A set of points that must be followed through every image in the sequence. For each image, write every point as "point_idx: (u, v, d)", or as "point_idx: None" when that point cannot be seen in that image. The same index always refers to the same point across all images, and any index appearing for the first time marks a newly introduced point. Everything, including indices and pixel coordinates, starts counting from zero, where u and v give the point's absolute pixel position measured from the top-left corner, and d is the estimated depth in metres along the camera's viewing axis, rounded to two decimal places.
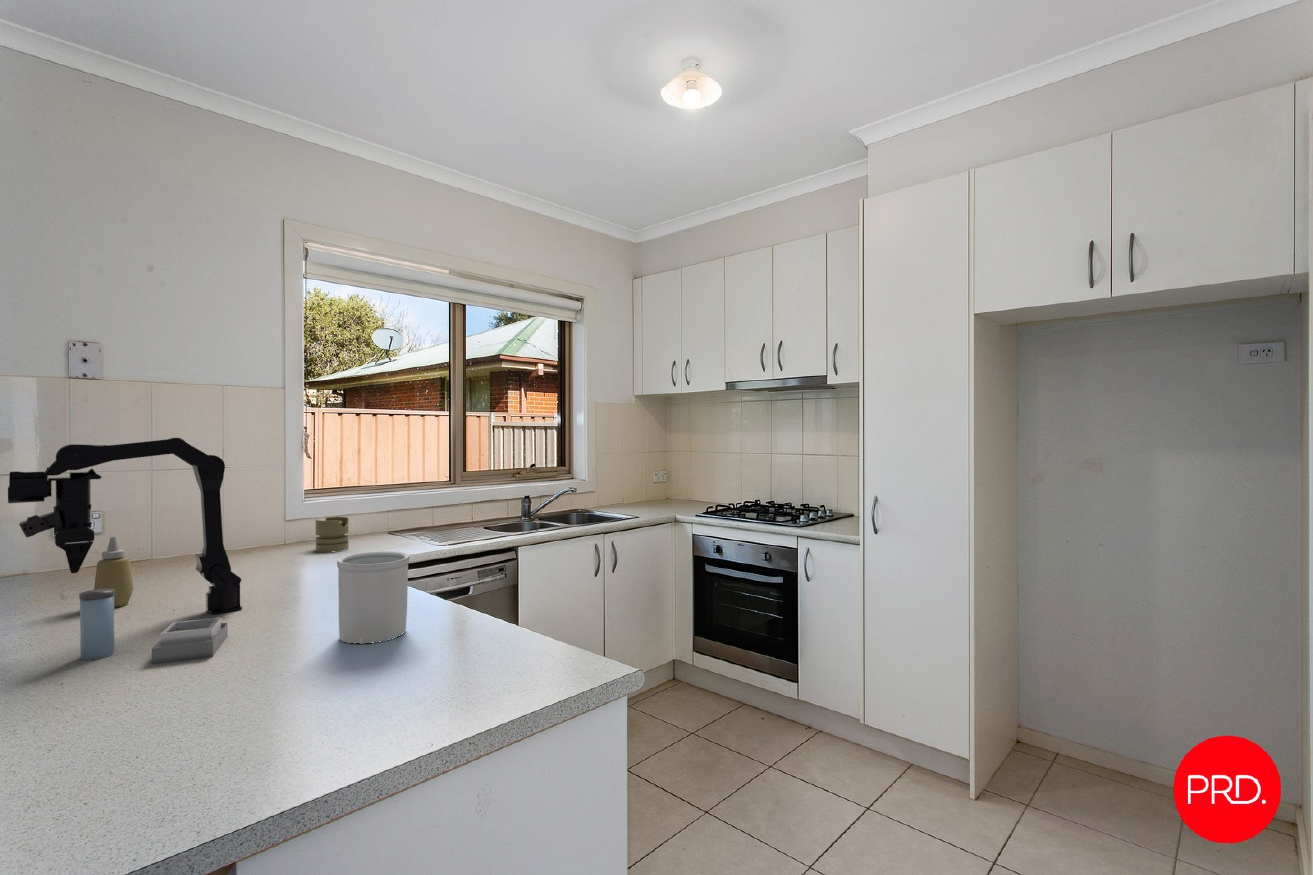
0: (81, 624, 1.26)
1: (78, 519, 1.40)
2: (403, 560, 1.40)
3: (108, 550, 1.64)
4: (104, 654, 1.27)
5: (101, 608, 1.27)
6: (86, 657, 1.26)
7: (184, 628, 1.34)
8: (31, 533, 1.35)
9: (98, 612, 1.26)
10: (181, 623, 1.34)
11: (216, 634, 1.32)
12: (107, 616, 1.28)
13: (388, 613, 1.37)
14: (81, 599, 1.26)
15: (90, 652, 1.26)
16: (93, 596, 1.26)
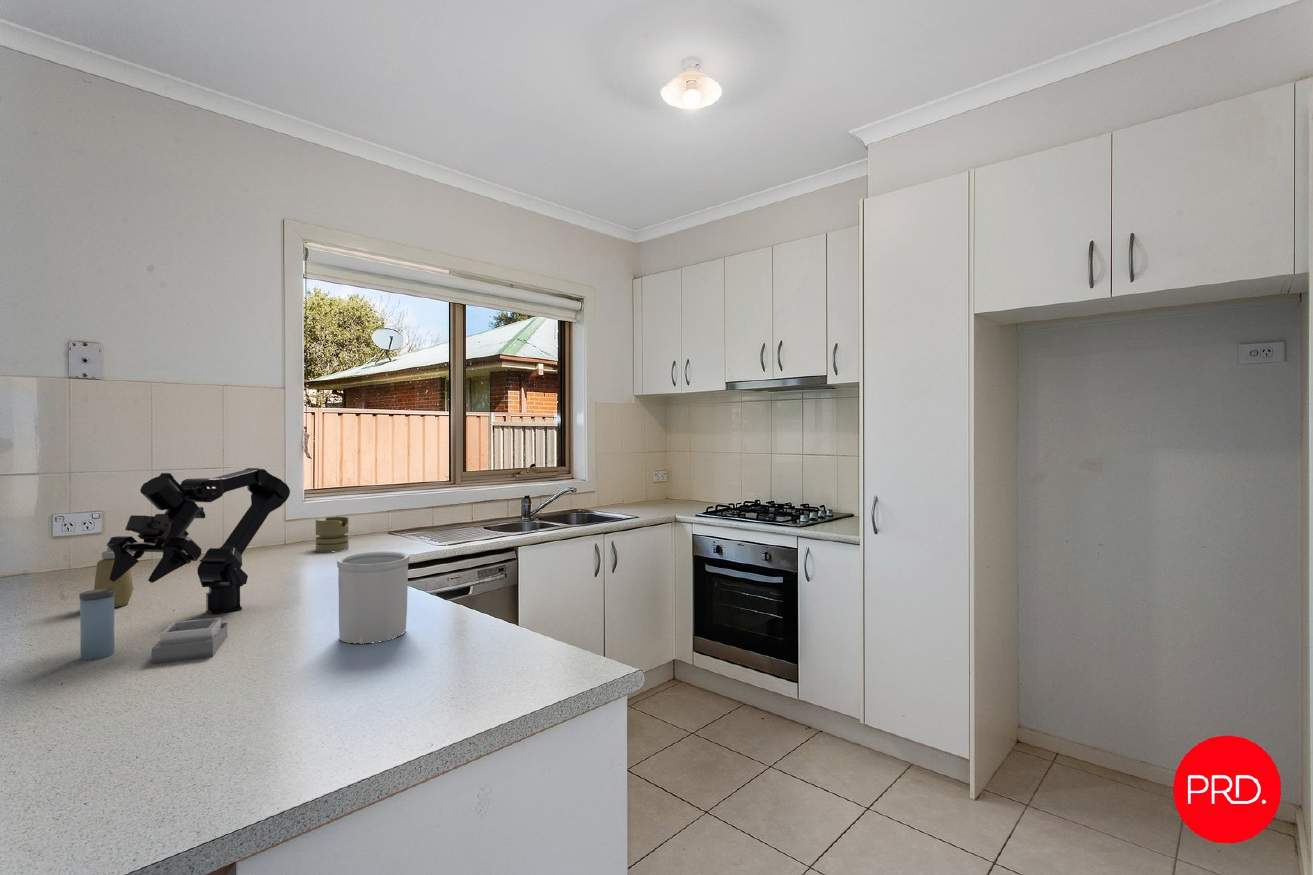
0: (81, 624, 1.26)
1: None
2: (403, 560, 1.40)
3: (108, 550, 1.64)
4: (104, 654, 1.27)
5: (101, 608, 1.27)
6: (86, 657, 1.26)
7: (184, 628, 1.34)
8: (148, 528, 1.37)
9: (98, 612, 1.26)
10: (181, 623, 1.34)
11: (216, 634, 1.32)
12: (107, 616, 1.28)
13: (388, 613, 1.37)
14: (82, 599, 1.26)
15: (90, 651, 1.26)
16: (93, 596, 1.26)
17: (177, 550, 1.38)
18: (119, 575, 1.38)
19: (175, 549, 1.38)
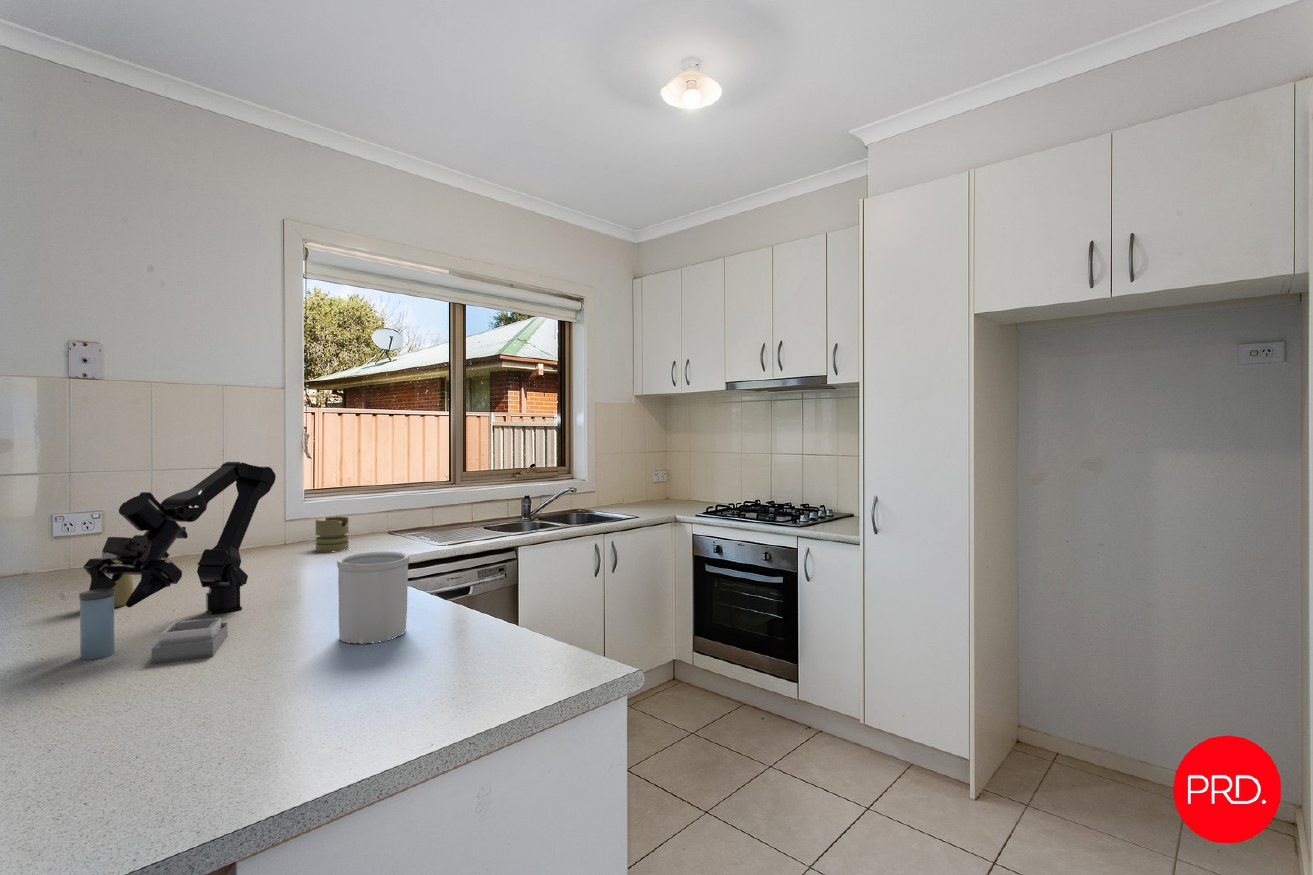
0: (81, 624, 1.26)
1: None
2: (403, 560, 1.40)
3: None
4: (104, 654, 1.27)
5: (101, 608, 1.27)
6: (86, 657, 1.26)
7: (184, 628, 1.34)
8: (125, 550, 1.32)
9: (98, 612, 1.26)
10: (181, 623, 1.34)
11: (216, 634, 1.32)
12: (107, 616, 1.28)
13: (388, 613, 1.37)
14: (82, 599, 1.26)
15: (90, 651, 1.26)
16: (93, 596, 1.26)
17: (156, 573, 1.33)
18: None
19: (154, 572, 1.32)
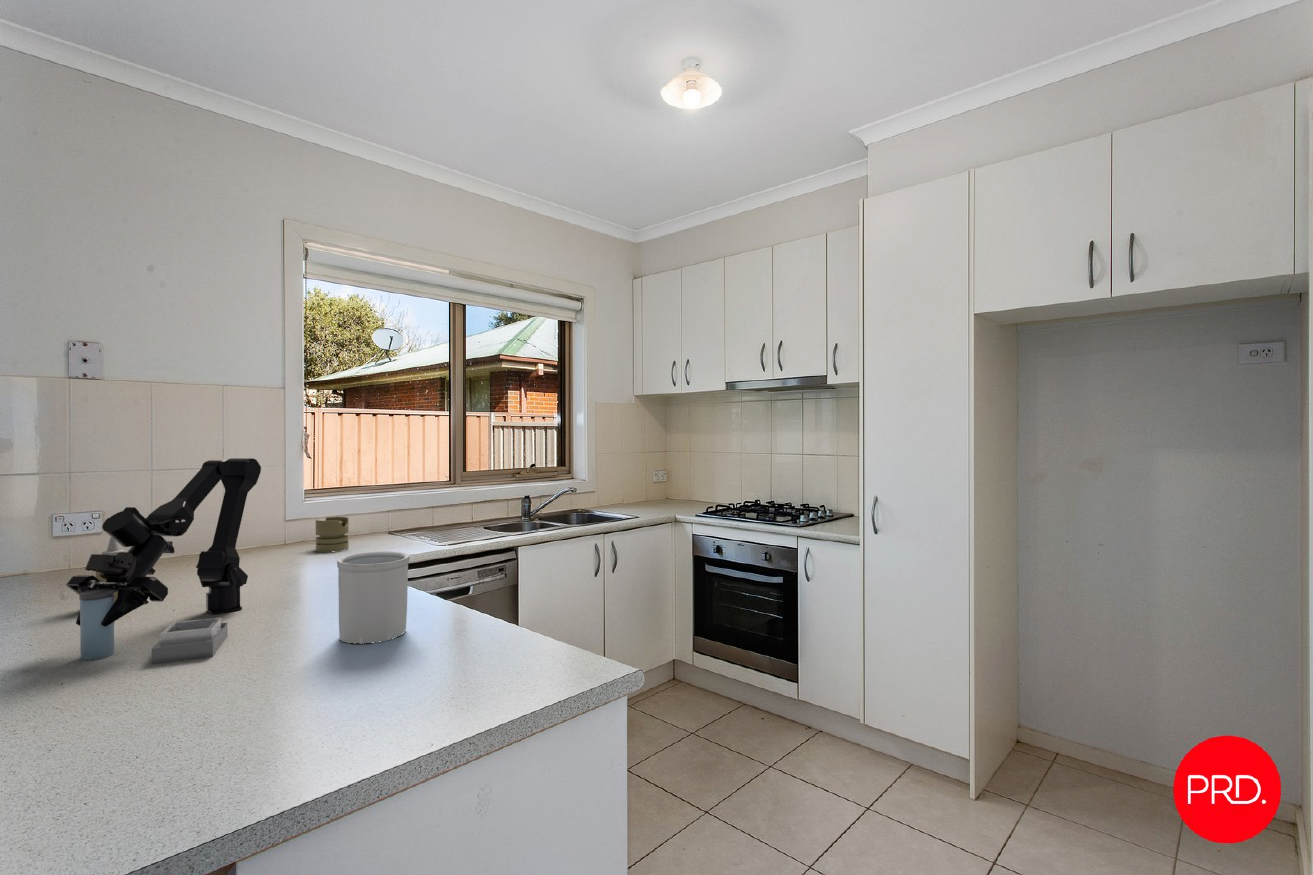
0: (81, 624, 1.26)
1: None
2: (403, 560, 1.40)
3: (108, 550, 1.64)
4: (104, 654, 1.27)
5: (101, 608, 1.27)
6: (86, 657, 1.26)
7: (184, 628, 1.34)
8: (109, 568, 1.28)
9: (98, 612, 1.26)
10: (181, 623, 1.34)
11: (216, 634, 1.32)
12: None
13: (388, 613, 1.37)
14: (82, 599, 1.26)
15: (90, 651, 1.26)
16: (93, 596, 1.26)
17: (133, 591, 1.29)
18: None
19: (130, 590, 1.29)
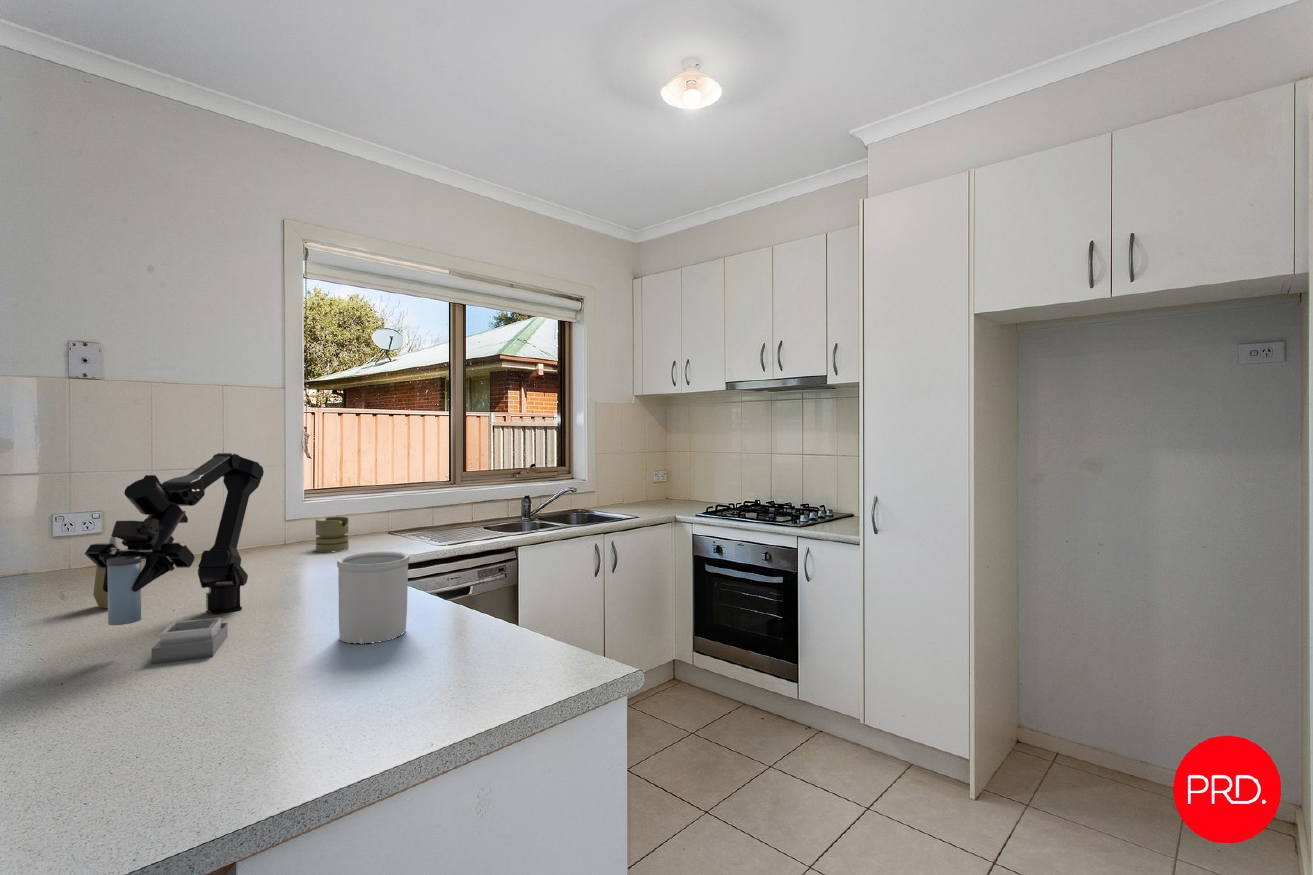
0: (110, 590, 1.26)
1: None
2: (403, 560, 1.40)
3: None
4: (134, 619, 1.28)
5: (131, 573, 1.27)
6: (116, 622, 1.26)
7: (184, 628, 1.34)
8: (138, 534, 1.29)
9: (128, 577, 1.27)
10: (181, 623, 1.34)
11: (216, 634, 1.32)
12: None
13: (388, 613, 1.37)
14: (111, 565, 1.26)
15: (120, 617, 1.26)
16: (124, 562, 1.26)
17: (162, 556, 1.31)
18: None
19: (160, 555, 1.30)
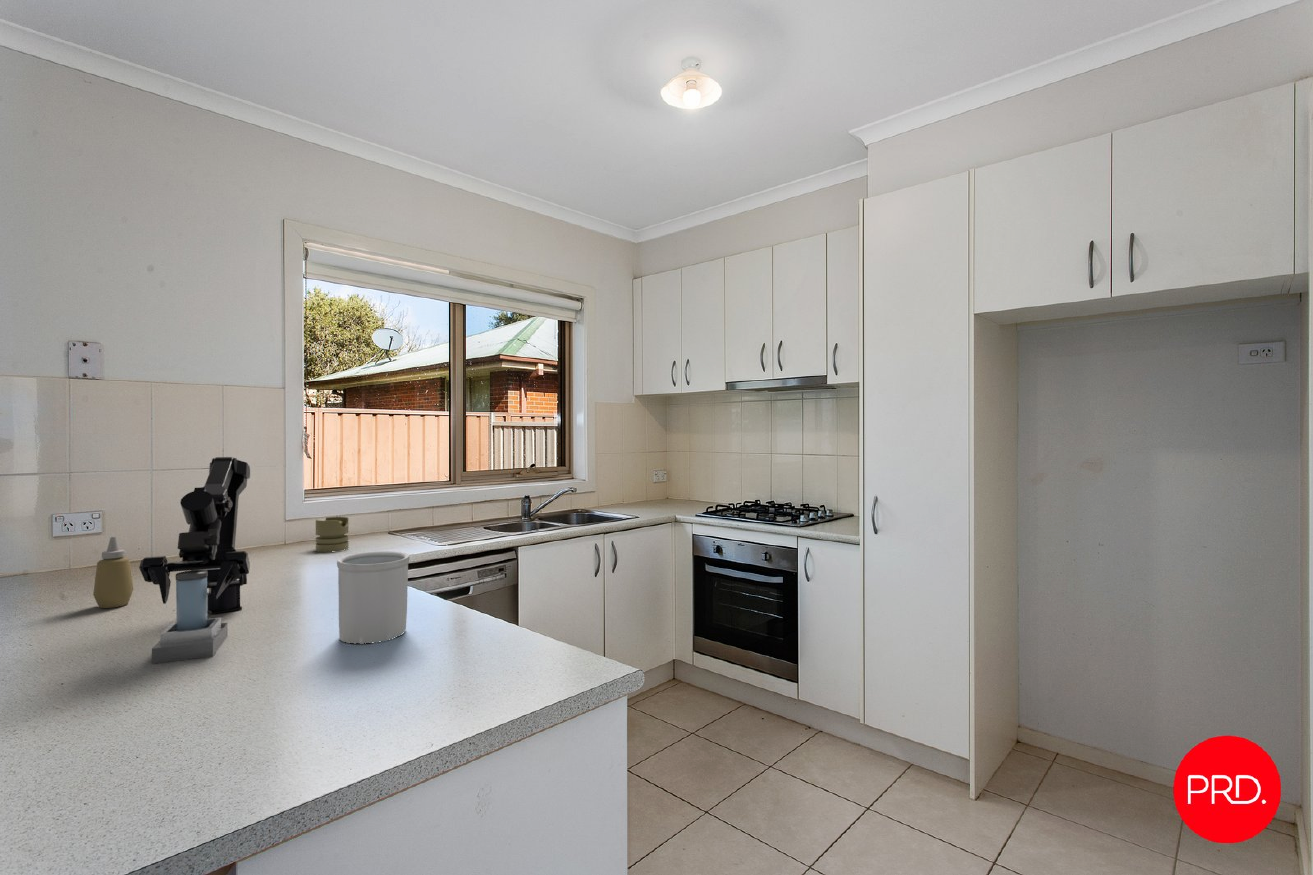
0: (183, 604, 1.29)
1: None
2: (403, 560, 1.40)
3: (108, 550, 1.64)
4: None
5: (203, 587, 1.32)
6: None
7: None
8: (205, 544, 1.33)
9: (201, 591, 1.31)
10: None
11: (216, 634, 1.32)
12: (206, 594, 1.33)
13: (388, 613, 1.37)
14: (184, 580, 1.29)
15: None
16: (198, 576, 1.30)
17: (237, 564, 1.37)
18: (167, 597, 1.30)
19: (236, 563, 1.36)
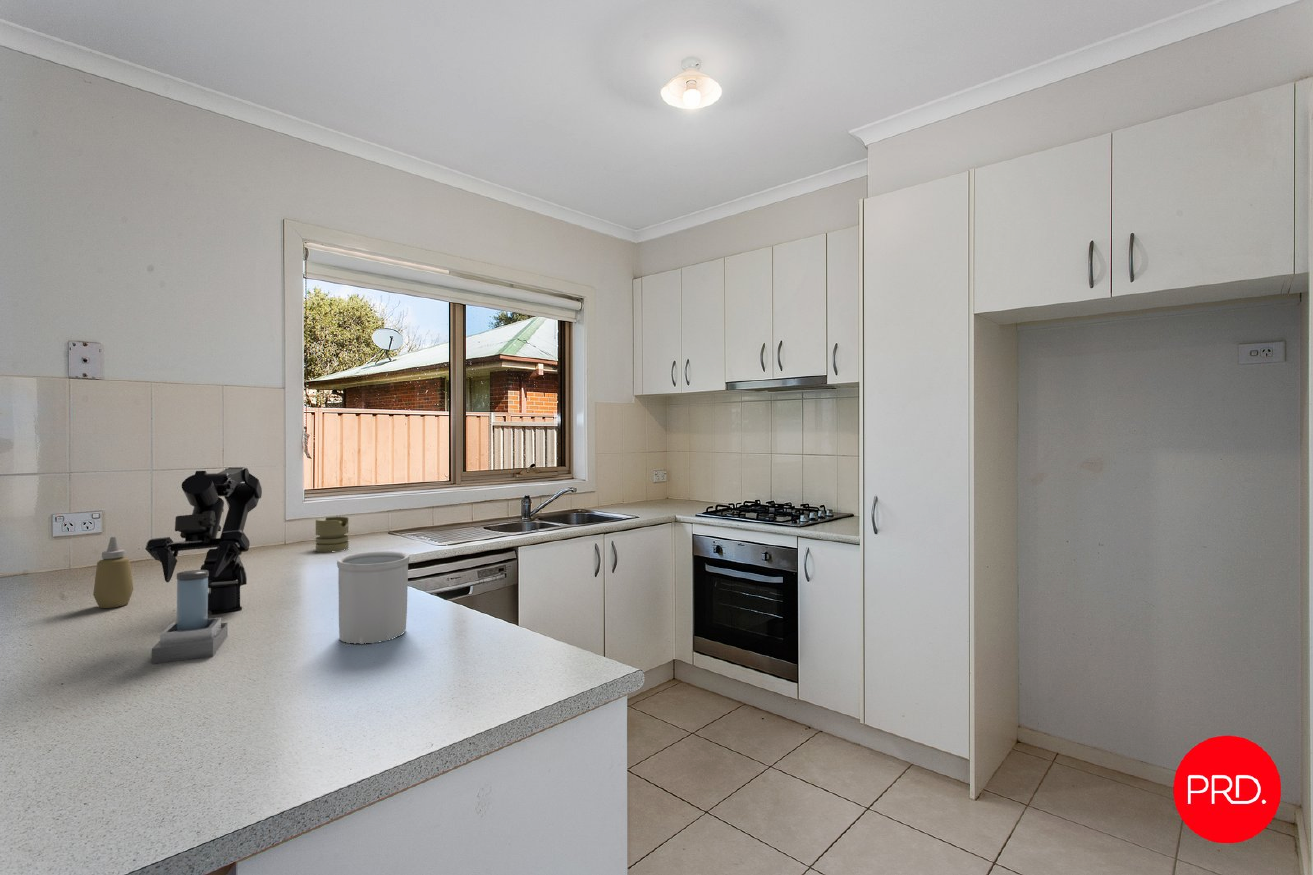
0: (184, 604, 1.29)
1: (216, 534, 1.47)
2: (403, 560, 1.40)
3: (108, 550, 1.64)
4: None
5: (204, 587, 1.32)
6: None
7: None
8: (200, 526, 1.40)
9: (202, 591, 1.31)
10: None
11: (216, 634, 1.32)
12: (206, 594, 1.33)
13: (388, 613, 1.37)
14: (186, 580, 1.29)
15: None
16: (199, 576, 1.31)
17: (234, 543, 1.43)
18: (171, 575, 1.39)
19: (232, 542, 1.43)
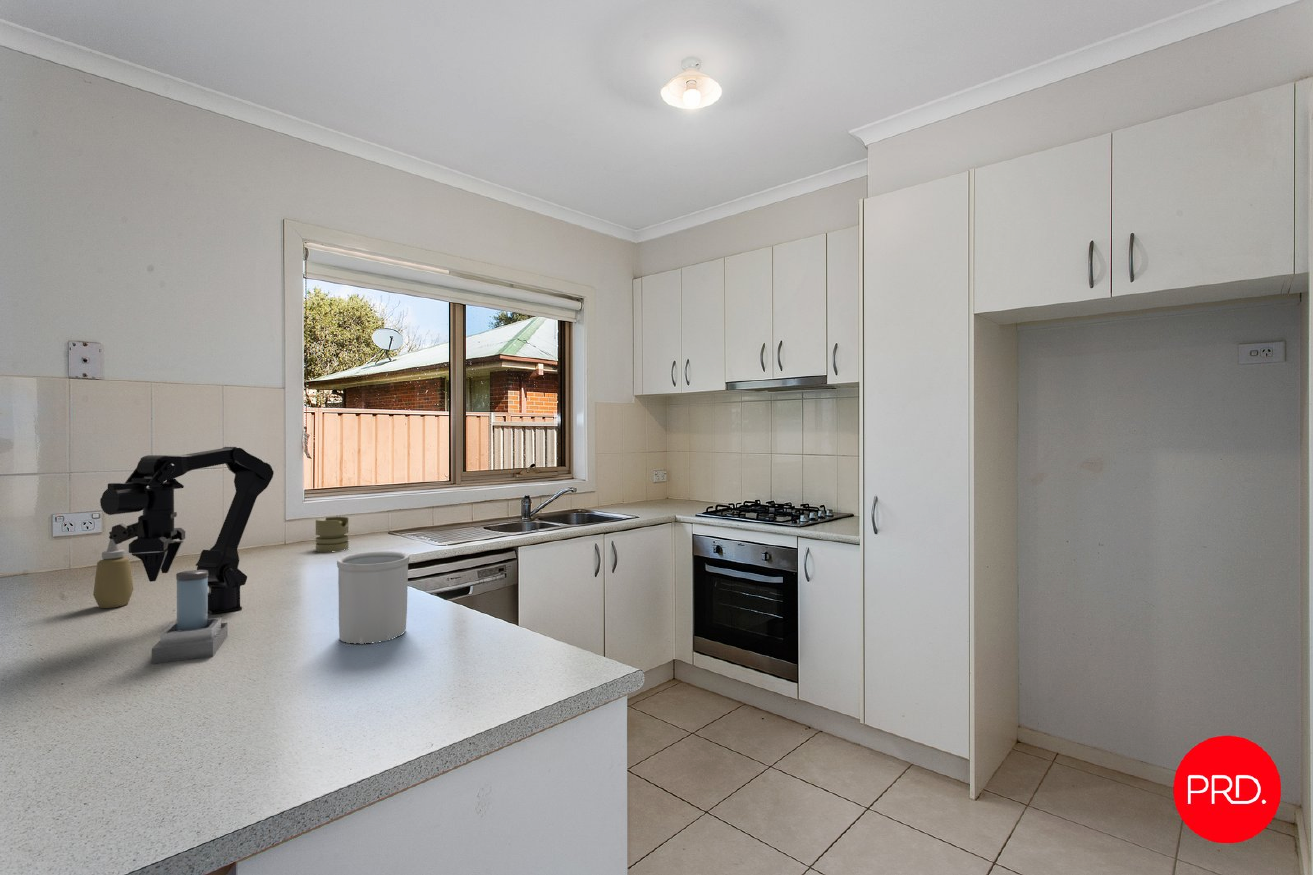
0: (184, 604, 1.29)
1: (159, 528, 1.43)
2: (403, 560, 1.40)
3: (108, 550, 1.64)
4: None
5: (204, 587, 1.32)
6: None
7: None
8: (118, 541, 1.40)
9: (202, 591, 1.31)
10: None
11: (216, 634, 1.32)
12: (206, 594, 1.33)
13: (388, 613, 1.37)
14: (185, 580, 1.29)
15: None
16: (199, 576, 1.31)
17: (135, 555, 1.37)
18: (168, 565, 1.50)
19: (133, 555, 1.37)
